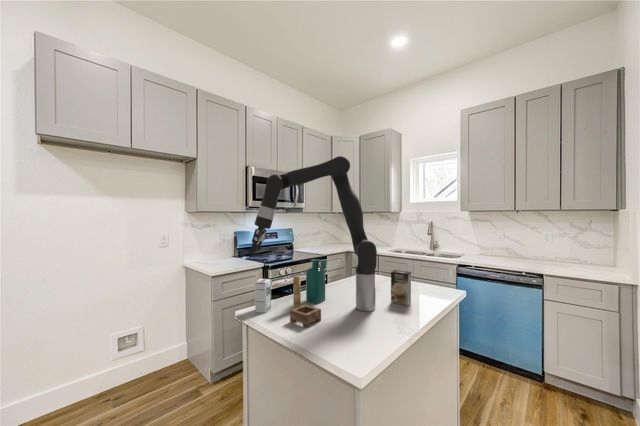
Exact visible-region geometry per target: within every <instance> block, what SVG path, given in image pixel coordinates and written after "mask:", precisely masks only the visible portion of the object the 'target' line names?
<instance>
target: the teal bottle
mask: <svg viewBox="0 0 640 426" xmlns="http://www.w3.org/2000/svg"><path fill="white" fill-rule="evenodd" d="M310 262H311V267H309V268H307V269H306V271H305V286H306V287H305V288H306V290H305V296H306V297H305V300H306V302H308V303H314V304H320V303H322V302H325V300H326V268H327V262H328V261H327V259H322V260H321V259H318V258H313V259H310Z"/></svg>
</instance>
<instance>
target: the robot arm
mask: <svg viewBox="0 0 640 426" xmlns="http://www.w3.org/2000/svg"><path fill="white" fill-rule="evenodd" d="M350 169H351V163H350V161H349V159H348V158H347V157H345V156H341V155H340V156H338V155H337V156H335V157H334V158H332V159H330V160H328V161H325V162H322V163H319V164H318V163H317V164H316V165H311V166H307V167H303V168H298V169H294V170H291V171H287V173H283V174H271V175H270V176H269V177H268V178H267V181H266V184H265V189H264V193H263V196H262V199H261V203H260V205H259V208H258V211H257V214H256V217H255V219H254V226H256V227H257V228H255V229H254V233H253V236H252V238H251V239H252V240H251V243H252V245H251V248H250V253H253V254H254V253H256V252H257V251H258V252H259V251H261V248H262V243H264V242H265V237H266V233H267V231H268V230H270V229H271V228H272V223H273V220H274V219H275V217H274V216H275V212H276V208H277V205H278V201H279V196H280V193H281V190H284V189H287V188H290V187H295V186H300V185H303V184H306V183H307V184H308V183H309V182H313V181H315V180H318V179H320V178H321V179H322V178H325V177H331V180H332V181H333V183H334V186H335V188H336V192H337V195H338V200H339V203H340V208H341V211H342V214H343V217H344V219H345V222H346V225H347V228H348V231H349V233H350V237H351V241H352V242H351V243H352V247H353V252H354V254H355V255H356V256H357V265H356V267H355V309H356V310H358V311H360V312H373V311H375V310H376V269H377V259H378V257H377V256H378V250H377V247H376V244H375V243H374V242H373V241H371V240H368V236H367V235H366V231H365V228H364V227H365V226H364V214H363V213H364V212H363V208H362V205H361V201H360V200H359V197H358V196H357V193H356V192H355V190H354V189H353V187H352V186H351V183H350V179H349V175H348V172H349V171H350Z"/></svg>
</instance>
